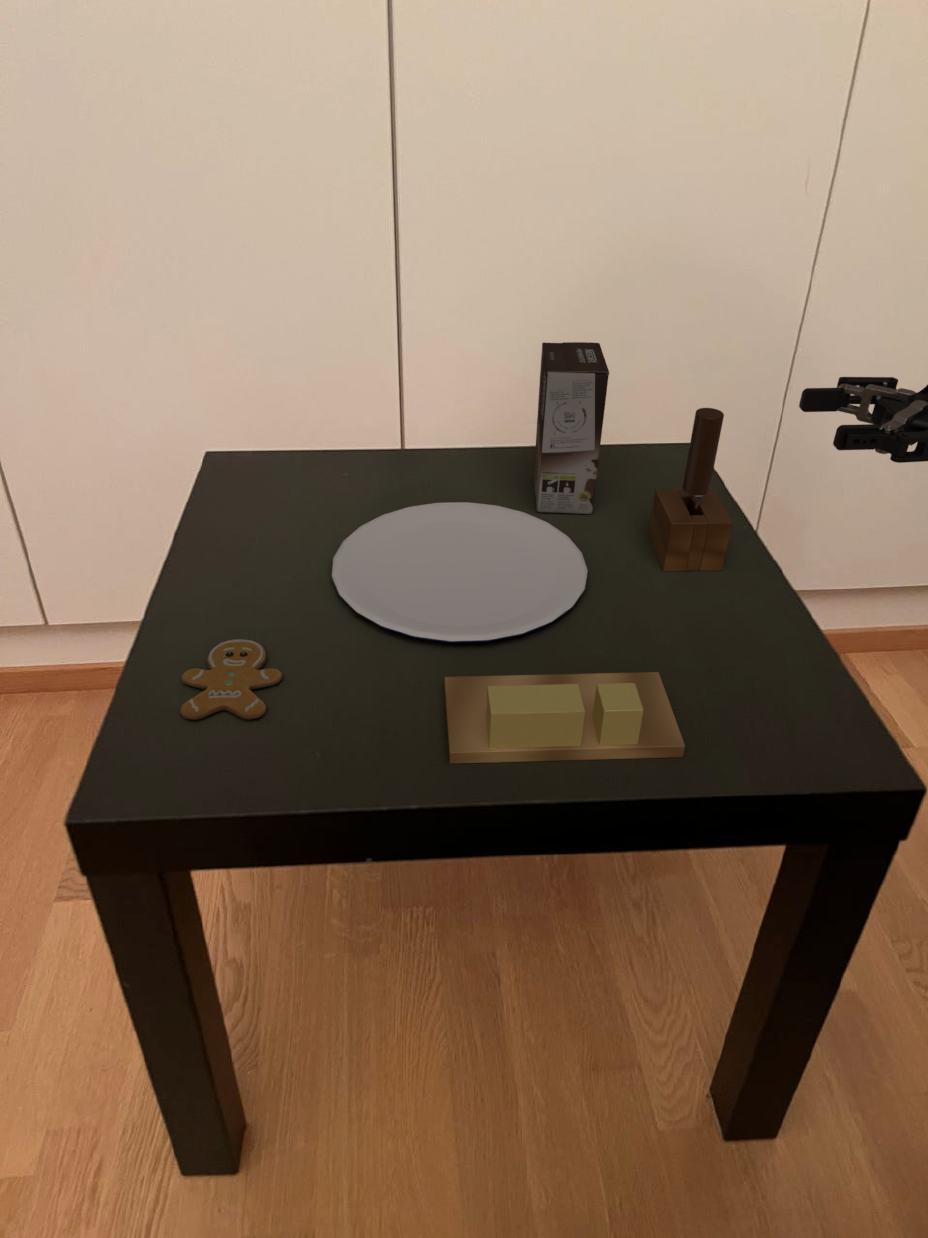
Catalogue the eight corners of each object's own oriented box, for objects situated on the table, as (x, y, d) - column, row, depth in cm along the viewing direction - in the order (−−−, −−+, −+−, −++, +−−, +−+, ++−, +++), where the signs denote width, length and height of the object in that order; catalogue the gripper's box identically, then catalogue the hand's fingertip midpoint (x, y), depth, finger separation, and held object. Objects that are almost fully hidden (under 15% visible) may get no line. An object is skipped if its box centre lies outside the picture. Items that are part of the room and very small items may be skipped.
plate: (629, 556, 96) (631, 546, 96) (500, 686, 79) (501, 674, 79) (429, 488, 107) (429, 479, 107) (277, 590, 90) (276, 579, 90)
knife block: (703, 534, 100) (712, 488, 97) (722, 570, 95) (732, 522, 92) (647, 535, 100) (655, 489, 97) (663, 571, 94) (671, 523, 91)
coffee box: (594, 515, 103) (610, 372, 94) (535, 513, 103) (545, 370, 94) (587, 476, 111) (601, 340, 101) (532, 475, 111) (541, 339, 101)
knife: (693, 545, 99) (719, 407, 90) (699, 559, 96) (727, 418, 87) (668, 546, 98) (692, 407, 89) (674, 559, 96) (699, 418, 87)
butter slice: (629, 716, 75) (635, 682, 73) (638, 744, 72) (644, 709, 70) (592, 717, 75) (596, 683, 73) (599, 745, 72) (604, 710, 70)
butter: (574, 718, 75) (578, 683, 73) (580, 746, 72) (585, 711, 70) (485, 720, 74) (487, 685, 72) (489, 748, 72) (490, 713, 69)
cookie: (166, 713, 74) (192, 636, 82) (168, 722, 75) (194, 644, 83) (273, 713, 75) (288, 636, 83) (274, 722, 75) (289, 644, 83)
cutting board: (656, 682, 80) (658, 671, 79) (683, 757, 73) (685, 746, 72) (444, 687, 79) (444, 676, 78) (449, 764, 72) (449, 752, 71)
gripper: (956, 350, 95) (799, 352, 93) (1038, 408, 83) (860, 412, 82) (933, 420, 99) (782, 423, 98) (1008, 484, 88) (838, 489, 86)
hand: (818, 418), depth 90 cm, fingers open, 8 cm apart
